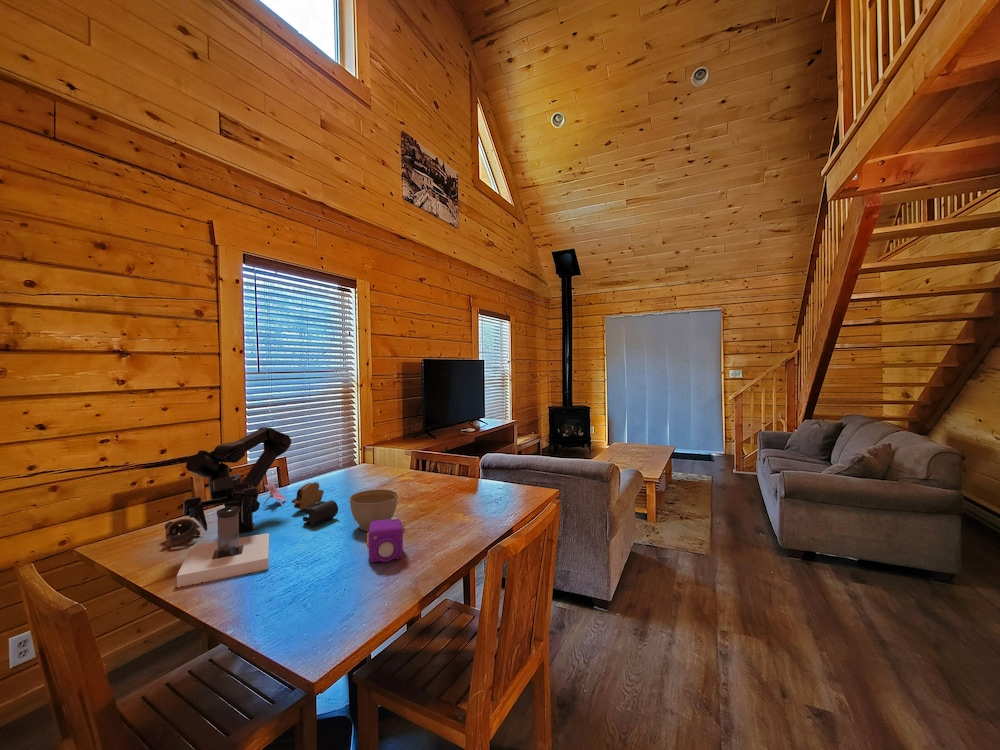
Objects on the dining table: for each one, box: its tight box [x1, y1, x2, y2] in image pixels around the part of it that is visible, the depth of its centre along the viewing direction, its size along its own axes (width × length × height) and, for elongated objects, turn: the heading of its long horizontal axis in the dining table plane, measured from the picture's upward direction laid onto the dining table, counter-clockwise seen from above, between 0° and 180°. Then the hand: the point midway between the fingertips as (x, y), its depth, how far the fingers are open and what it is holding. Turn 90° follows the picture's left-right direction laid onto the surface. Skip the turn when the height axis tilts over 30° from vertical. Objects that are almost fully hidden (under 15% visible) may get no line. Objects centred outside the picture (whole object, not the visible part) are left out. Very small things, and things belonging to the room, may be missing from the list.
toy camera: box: [366, 516, 404, 563], centre depth 119 cm, size 11×14×10 cm
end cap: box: [302, 499, 339, 528], centre depth 147 cm, size 10×7×7 cm
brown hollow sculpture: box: [164, 518, 201, 548], centre depth 131 cm, size 12×10×8 cm
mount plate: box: [176, 532, 270, 588], centre depth 116 cm, size 20×20×3 cm
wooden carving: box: [291, 481, 325, 511], centre depth 163 cm, size 16×5×10 cm, turn 172°
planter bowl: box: [349, 488, 399, 532], centre depth 143 cm, size 16×16×11 cm
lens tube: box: [216, 507, 240, 558], centre depth 116 cm, size 5×5×15 cm
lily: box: [262, 478, 288, 506], centre depth 167 cm, size 12×12×10 cm
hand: (225, 526), depth 121 cm, fingers open, 9 cm apart
